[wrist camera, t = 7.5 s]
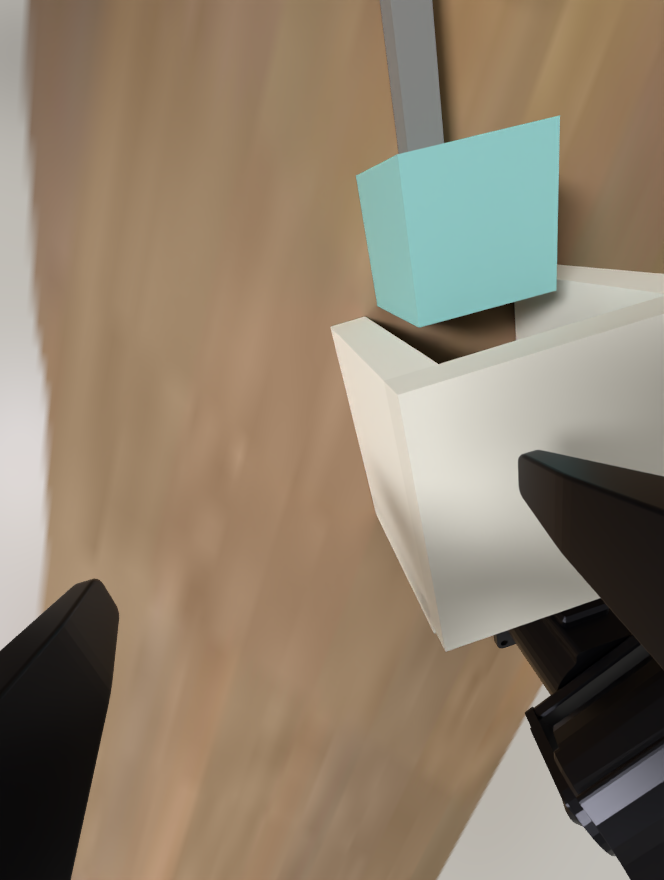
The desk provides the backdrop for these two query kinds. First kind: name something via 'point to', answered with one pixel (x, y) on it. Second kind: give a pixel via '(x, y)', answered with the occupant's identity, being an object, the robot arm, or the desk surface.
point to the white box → (504, 441)
